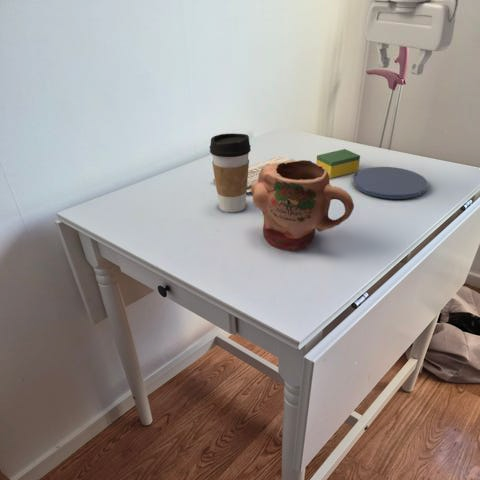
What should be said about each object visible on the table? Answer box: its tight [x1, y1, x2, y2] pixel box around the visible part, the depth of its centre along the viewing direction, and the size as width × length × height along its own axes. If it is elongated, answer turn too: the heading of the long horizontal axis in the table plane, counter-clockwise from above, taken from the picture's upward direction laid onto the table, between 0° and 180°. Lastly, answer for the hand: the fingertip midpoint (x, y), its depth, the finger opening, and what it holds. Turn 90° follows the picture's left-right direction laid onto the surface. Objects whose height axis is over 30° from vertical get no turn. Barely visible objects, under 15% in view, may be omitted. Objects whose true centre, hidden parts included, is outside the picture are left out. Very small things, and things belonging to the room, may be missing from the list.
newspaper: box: [213, 156, 298, 193], centre depth 106 cm, size 23×12×2 cm, turn 129°
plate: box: [352, 166, 428, 200], centre depth 101 cm, size 17×17×1 cm
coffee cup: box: [209, 133, 252, 213], centre depth 90 cm, size 8×8×15 cm
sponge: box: [315, 148, 361, 179], centre depth 108 cm, size 9×6×4 cm, turn 119°
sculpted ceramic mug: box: [251, 159, 355, 252], centre depth 78 cm, size 20×12×14 cm, turn 64°
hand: (399, 70), depth 92 cm, fingers open, 8 cm apart
